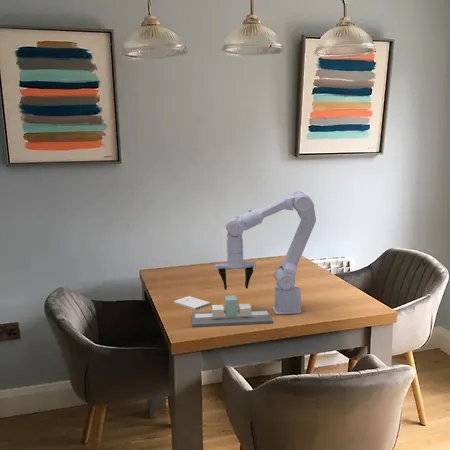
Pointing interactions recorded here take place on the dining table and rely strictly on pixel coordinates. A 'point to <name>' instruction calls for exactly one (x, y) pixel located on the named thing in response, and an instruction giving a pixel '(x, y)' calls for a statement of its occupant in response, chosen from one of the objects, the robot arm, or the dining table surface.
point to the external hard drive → (192, 303)
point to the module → (231, 306)
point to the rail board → (219, 317)
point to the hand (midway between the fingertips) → (236, 288)
